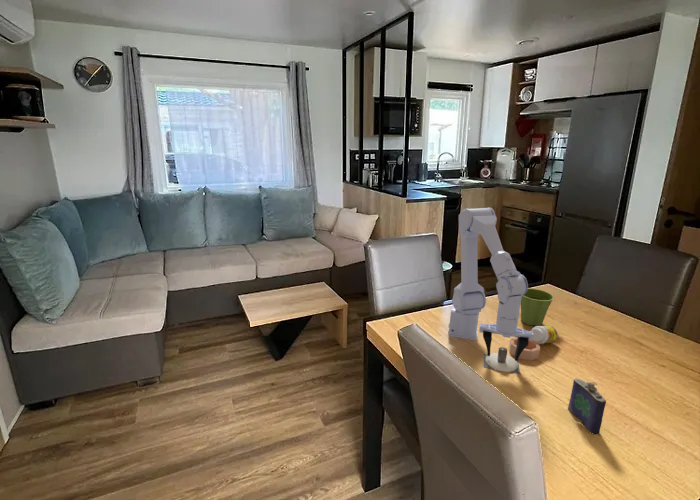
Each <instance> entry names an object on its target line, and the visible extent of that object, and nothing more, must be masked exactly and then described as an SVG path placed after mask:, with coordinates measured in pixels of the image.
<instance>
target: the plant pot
mask: <svg viewBox="0 0 700 500" xmlns="http://www.w3.org/2000/svg"><path fill="white" fill-rule="evenodd" d="M554 300H555V296H554V294H553V293H550V292H548V291H545V290H544V289H543V290H542V289H539V288H531V287H530V288H529V287H528V290H527V292H526V293H525V294H524V295H522V298H521V304H520V319H521V322H522V323H523V324H526V325H529V326H534V327H536V326H543V323H544V320H545V317H546V315H547V312H548V310H549V307H550V306H551V304H552V301H554Z"/></svg>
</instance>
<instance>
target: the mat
mask: <svg viewBox="0 0 700 500" xmlns="http://www.w3.org/2000/svg"><path fill="white" fill-rule="evenodd" d="M486 356H487V353H483V368H484V369H490V370H493V371H494V370H495V369H493V368H491V367H489V366H488V365H487V364H486V362H485V360H486ZM517 363H518V366H517V369H516V370H515V371H512V372H509V373H511V374H517V375H521V370H520V364H519V360H518V361H517ZM495 371H496V370H495Z"/></svg>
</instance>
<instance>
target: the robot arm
mask: <svg viewBox="0 0 700 500" xmlns="http://www.w3.org/2000/svg"><path fill="white" fill-rule="evenodd" d="M497 220H498V218H497V215H496V212H495V210H494V209H493V208H492V207H480V208H479V207H477V208H463V209H462V210H461V212H460V213H459V214H458V233H459V234H460V262H461V263H460V264H461V265H460V268H461V269H460V271H461V272H460V273H461V274H460V276H461V280H460V281H461V282H460V283H458V285H457V286H455V287H454V289H453V296H452V299H451V300H452V307H451V308H450V309H451V310H450V315H449V316H450V318H449V323H448V336H449V337H453V338H459V339H460V338H461V339H464V340H465V339H467V340H470V341H471V340H472V341H478V337H479V335H478V333H481V334H482V337H483V340H484V344H485V346H486V351H487V353H486V354H487V356H490V354H491V346H492V341H493V336H492V335H493V334H495V335H501V336H502V337H503V338H510V339H511V337H512V338H515V337H518V338H517V347H516V351H515V356H514V359H515V361H518V362H519V356H520V354H521V353H522V351H523V350H524V349H525V348H526V347H527V345H528V343H529V342H528V340H531V341H533V332H532V331H531V330H526V329H523V328H520V327H518V323H519V317H520V312H521V298H522V295H524V294H525V293H526V292H527V290H528V288H529V284H528V280H527V277H525V275H524V274H521V272H520V271H518V270H517V268H516V265H515V263H514V262H513V261H514V260H513V259H512V257H511V254H510V253H509V252H507V251H505V250H504V248H503V245H502V243H501V242H502V241H501V239H500V236H499V233H498V231H497V228H496V225H497ZM479 235H481V237H482V239H483V240H484V243H485V245H486V247H487V248H488V250H489V252H490V253H491V257H490V259H489V262H490V263H491V267H492V269H493V272H494V274H495V276H496V278H497V282H495V285H496V287H495V288H496V291H497V299H498V307H497V315H496V323H494V324H493V323H491V324H490V323H487V324H486V323H480V324H479V323H478V322H479V318H480V317H479V315H480V313H481V312H482V310H483V309H484V308H485V307H486V304H487V298H486V295H485V288H484V287H483V286H482V285H481V284H479V282H478V280H479V279H478V278H479V277H478V275H479V273H478V270H479V269H478V268H479V267H478V237H479ZM478 325H479V329H478Z"/></svg>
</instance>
